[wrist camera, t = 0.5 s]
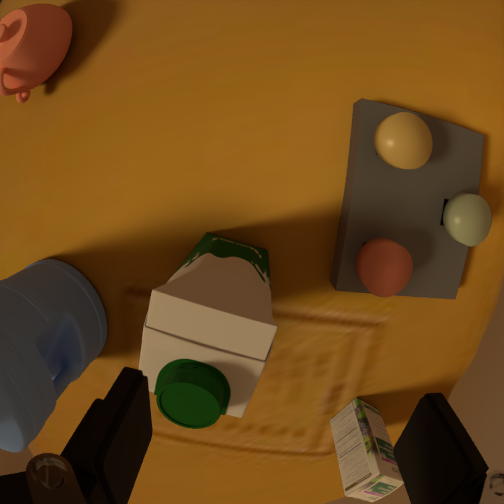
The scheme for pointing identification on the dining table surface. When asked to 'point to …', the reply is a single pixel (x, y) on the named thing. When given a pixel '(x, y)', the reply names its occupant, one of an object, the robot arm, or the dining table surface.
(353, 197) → the plate
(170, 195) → the dining table surface
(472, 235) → the pale green ball
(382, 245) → the red rounded lump
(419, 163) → the tan rounded piece
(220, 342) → the milk carton
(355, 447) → the syrup box
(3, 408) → the water jug
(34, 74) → the sugar bowl
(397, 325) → the dining table surface
